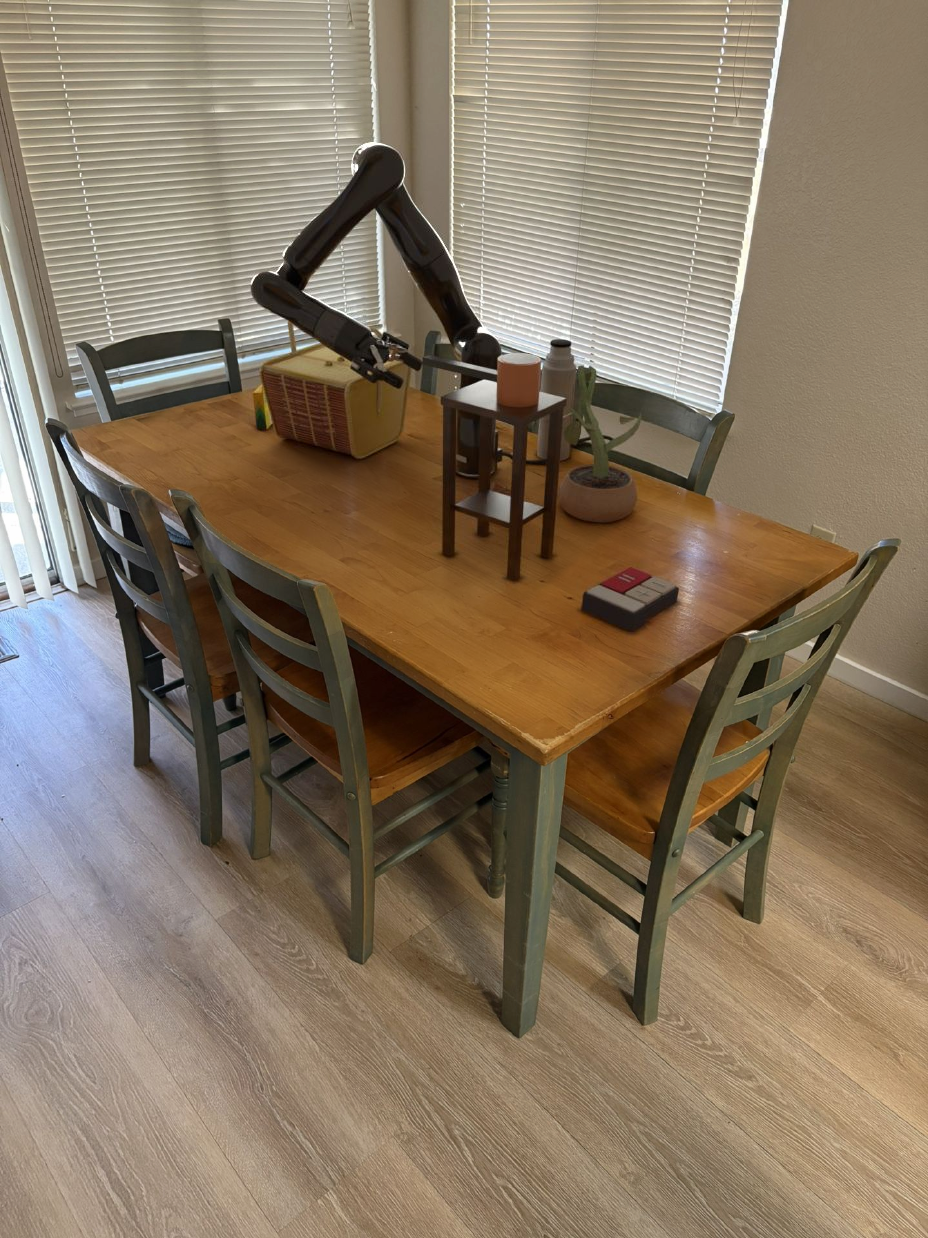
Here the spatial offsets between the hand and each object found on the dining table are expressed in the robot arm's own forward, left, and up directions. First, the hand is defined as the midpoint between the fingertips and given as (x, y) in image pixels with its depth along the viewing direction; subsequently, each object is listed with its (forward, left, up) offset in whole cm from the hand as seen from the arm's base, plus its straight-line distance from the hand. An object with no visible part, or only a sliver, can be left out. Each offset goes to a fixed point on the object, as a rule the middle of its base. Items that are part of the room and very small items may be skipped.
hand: (411, 375), depth 185 cm
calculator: (-4, +56, -30) cm, 64 cm away
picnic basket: (-14, -45, -30) cm, 56 cm away
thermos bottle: (-48, -3, -30) cm, 57 cm away
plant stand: (0, +26, -30) cm, 39 cm away
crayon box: (-6, -67, -30) cm, 74 cm away
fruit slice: (-17, +11, -30) cm, 36 cm away
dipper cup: (+1, +20, +2) cm, 20 cm away
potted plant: (-32, +22, -30) cm, 49 cm away
